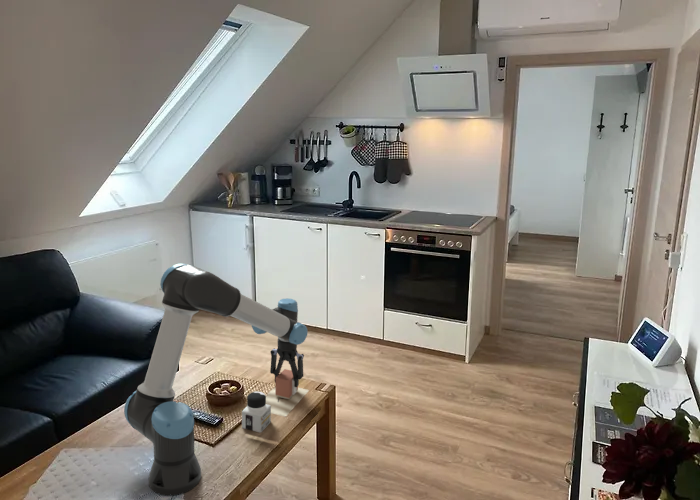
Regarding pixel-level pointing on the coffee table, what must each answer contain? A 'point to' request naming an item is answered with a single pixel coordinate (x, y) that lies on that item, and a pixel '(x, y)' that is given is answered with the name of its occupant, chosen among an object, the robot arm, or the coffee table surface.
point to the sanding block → (284, 384)
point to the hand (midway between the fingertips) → (286, 391)
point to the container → (256, 412)
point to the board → (284, 401)
